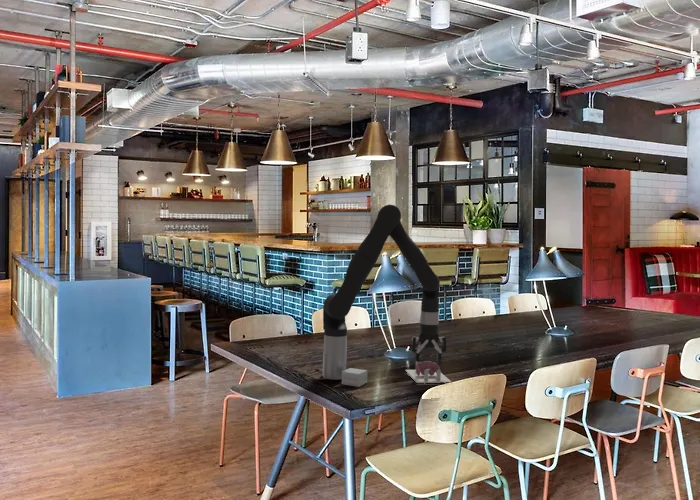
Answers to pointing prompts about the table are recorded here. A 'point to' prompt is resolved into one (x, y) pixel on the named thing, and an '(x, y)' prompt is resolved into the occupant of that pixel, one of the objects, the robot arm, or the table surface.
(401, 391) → the table surface
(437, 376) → the pin tray
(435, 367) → the maroon arch piece
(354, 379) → the small box
